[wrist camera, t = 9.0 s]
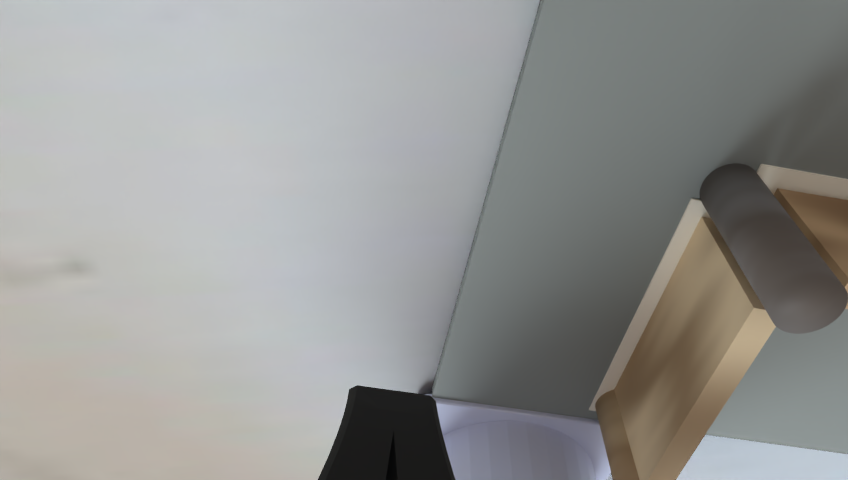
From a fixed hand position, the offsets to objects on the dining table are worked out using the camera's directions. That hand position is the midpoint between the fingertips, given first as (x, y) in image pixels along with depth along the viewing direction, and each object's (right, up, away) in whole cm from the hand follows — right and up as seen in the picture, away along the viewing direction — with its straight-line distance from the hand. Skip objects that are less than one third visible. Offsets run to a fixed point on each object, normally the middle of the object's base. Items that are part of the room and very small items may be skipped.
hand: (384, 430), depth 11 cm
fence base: (+8, +1, +10) cm, 13 cm away
